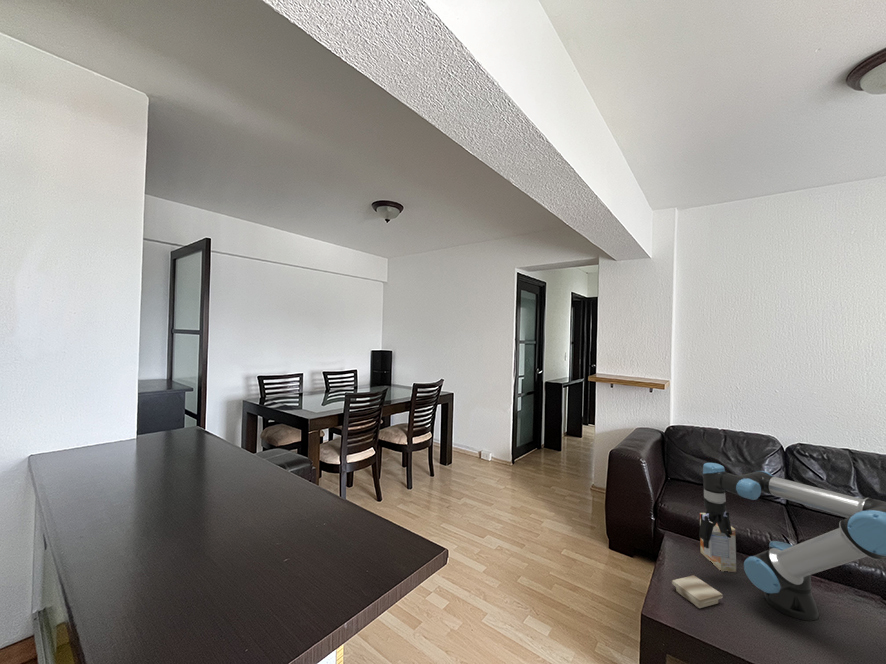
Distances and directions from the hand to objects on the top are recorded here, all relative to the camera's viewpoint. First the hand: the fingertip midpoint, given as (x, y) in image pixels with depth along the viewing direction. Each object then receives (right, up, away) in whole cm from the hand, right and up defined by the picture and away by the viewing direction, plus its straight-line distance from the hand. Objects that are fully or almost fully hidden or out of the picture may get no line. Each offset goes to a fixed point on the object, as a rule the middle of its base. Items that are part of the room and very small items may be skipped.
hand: (716, 553), depth 153 cm
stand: (-14, -13, -8) cm, 21 cm away
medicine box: (0, -1, 0) cm, 1 cm away
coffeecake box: (+12, -14, +15) cm, 24 cm away
